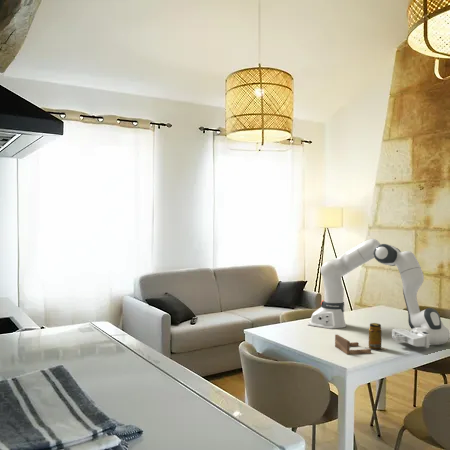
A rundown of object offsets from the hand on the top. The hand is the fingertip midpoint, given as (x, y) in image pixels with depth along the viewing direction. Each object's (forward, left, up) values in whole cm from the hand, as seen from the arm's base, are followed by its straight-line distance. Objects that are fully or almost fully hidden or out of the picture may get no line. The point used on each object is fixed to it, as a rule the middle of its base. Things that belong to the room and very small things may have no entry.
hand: (393, 337), depth 236 cm
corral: (-18, -13, -5) cm, 22 cm away
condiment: (-8, -6, -5) cm, 11 cm away
